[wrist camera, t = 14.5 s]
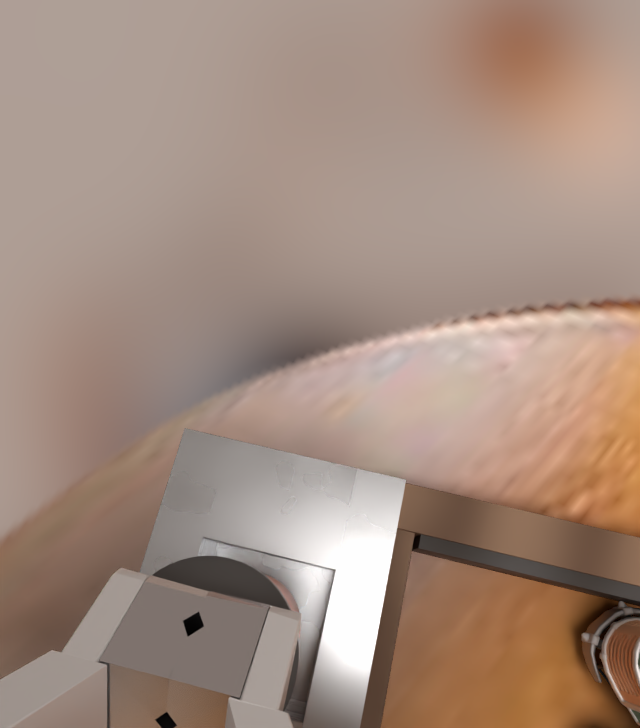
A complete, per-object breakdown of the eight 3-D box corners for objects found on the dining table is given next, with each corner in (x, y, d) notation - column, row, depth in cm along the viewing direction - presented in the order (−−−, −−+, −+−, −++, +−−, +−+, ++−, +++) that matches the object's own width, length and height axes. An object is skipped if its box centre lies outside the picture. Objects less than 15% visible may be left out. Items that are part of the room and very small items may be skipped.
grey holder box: (170, 708, 27) (63, 800, 16) (234, 482, 30) (182, 424, 19) (329, 751, 26) (335, 878, 15) (376, 516, 30) (409, 477, 19)
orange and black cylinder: (180, 671, 17) (77, 738, 10) (213, 554, 18) (141, 536, 11) (292, 701, 17) (271, 792, 10) (319, 580, 18) (318, 579, 11)
